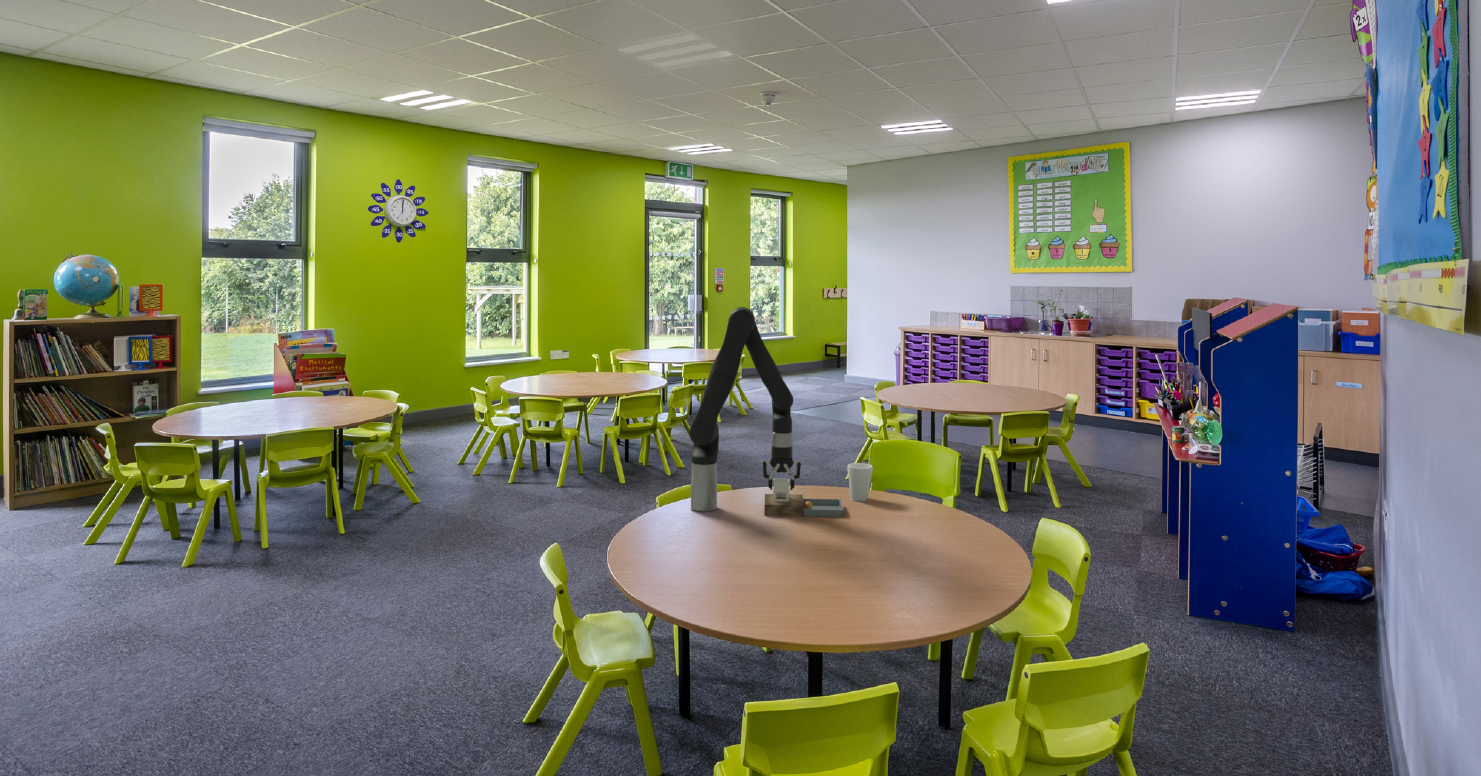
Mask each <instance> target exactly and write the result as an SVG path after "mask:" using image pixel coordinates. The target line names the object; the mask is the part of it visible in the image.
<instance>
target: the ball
mask: <svg viewBox="0 0 1481 776" xmlns="http://www.w3.org/2000/svg"><path fill="white" fill-rule="evenodd" d="M812 506H813V505H812V503H811V502H809V501H807V502H806V503H805V504H804V507H805V508H806V509H811V508H812Z"/></svg>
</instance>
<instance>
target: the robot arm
mask: <svg viewBox="0 0 1481 776" xmlns="http://www.w3.org/2000/svg"><path fill="white" fill-rule="evenodd" d="M745 347H746V349H747V351H748V353H749V355H750V358H751V361H752V362H753V365H754V367H755V370H756V373H757V375H759V378H760V380H761V382H762V383H763V385H764V386H765V387H766V389H767V391H768V393H769V395H770V397H771V409H772V426H771V427H772V428H771V429H772V432H771V434H772V435H771V441H770V442H771V443H770V444H771V452H770V453H771V456H770V460H763V461H762V473H763V475H762V476H763V478H765V479H767V480H768V482H767V484H768V489H770V491H771V490H772V491H773V479H774V476H775V474H776V473H783V474H784V473H787V474H788V476H789V478H790V482H789V491H793V489H795V480H797V479H800V478H801V467H802V462H801V460H798V461H794V460H793V441H794V439H793V419H792V415H791V412H792V411H791V410H792V406H793V404H794V395H793V394H792V392H791V391H790V389H789V387H788V385H787V384H786V382H785V380H784V378H783V377H782V375H781V372H780V370H779V368H778V366H777V364H776V362H775V360H774V358H773V357H772V355H771V353H770V352H769V350H768V347H766V344H765V343H764V340H763V338H762V336H761V334H760V331H759V329H758V325H757V323H756V317H755V314H754V313H753V311H752V310H751V309H749V308H748V307H744V306H739V307H736V308H734V309H733V310H732V311H731V313H730V314H729V316H728V320H727V326H726V332H725V334H724V339H723V342H722V345H721V347H720V349H719V351H718V353H717V355H716V358H715V359H714V362H713V363H712V366H711V368H710V372H709V374H708V377H707V381H706V384H705V387H704V392H703V396H702V399H701V402H700V405H699V408H698V411H697V413H696V415H695V416H694V419H693V421H692V423H691V425H690V427H689V438H690V441H692V443H693V449H692V454H691V484H690V510H691V511H697V512H703V513H704V512H712V511H715V510H717V509H718V454H719V446H720V445H719V444H720V443H719V442H720V441H719V440H720V437H719V436H720V435H719V434H720V432H719V431H720V430H719V426H718V423H717V422H718V417H719V415H720V412H721V410H722V408H723V406H724V404H726V401H727V400H728V397H729V396H730V393H731V391H732V390H733V387H734V384H735V381H736V379H737V376H738V372H739V369H740V363H741V359H742V354H743V350H744V348H745ZM769 465H770V467H772V469H771V472H770V473H767V468H768V467H769ZM793 465H794V467H795V468H796V473H795V474H794V473H793V472H792V469H791V468H793Z"/></svg>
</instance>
